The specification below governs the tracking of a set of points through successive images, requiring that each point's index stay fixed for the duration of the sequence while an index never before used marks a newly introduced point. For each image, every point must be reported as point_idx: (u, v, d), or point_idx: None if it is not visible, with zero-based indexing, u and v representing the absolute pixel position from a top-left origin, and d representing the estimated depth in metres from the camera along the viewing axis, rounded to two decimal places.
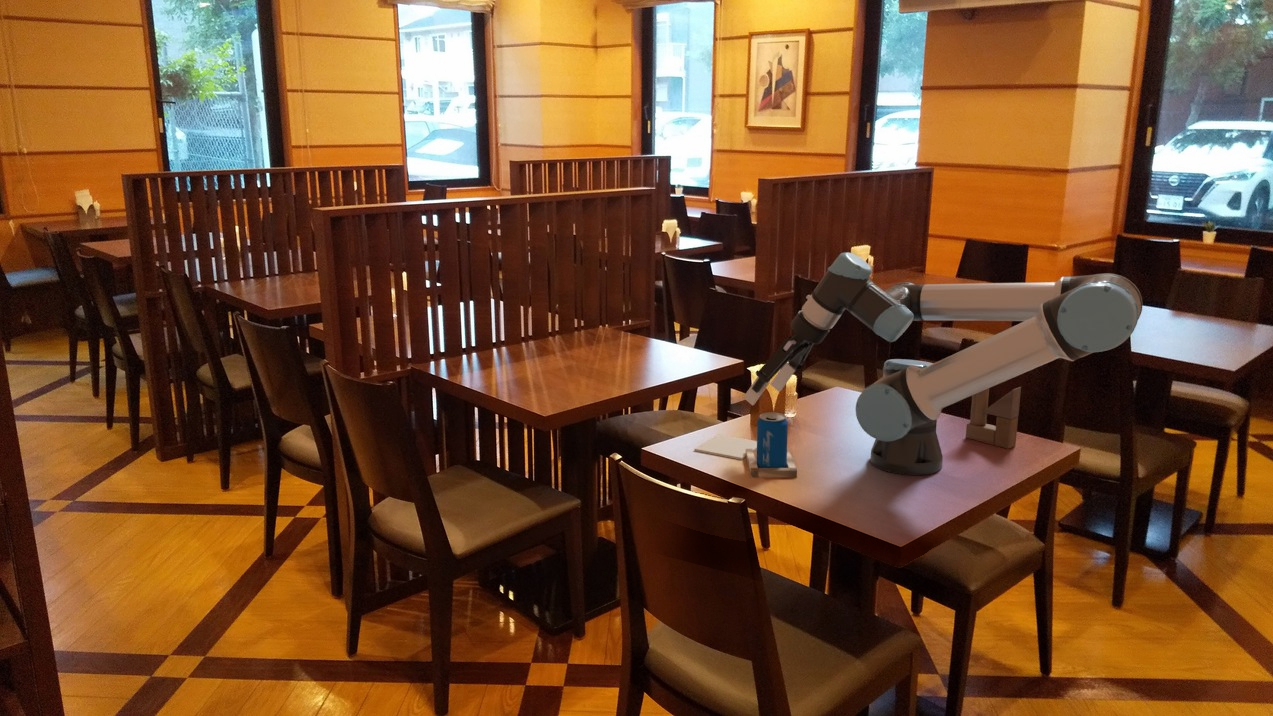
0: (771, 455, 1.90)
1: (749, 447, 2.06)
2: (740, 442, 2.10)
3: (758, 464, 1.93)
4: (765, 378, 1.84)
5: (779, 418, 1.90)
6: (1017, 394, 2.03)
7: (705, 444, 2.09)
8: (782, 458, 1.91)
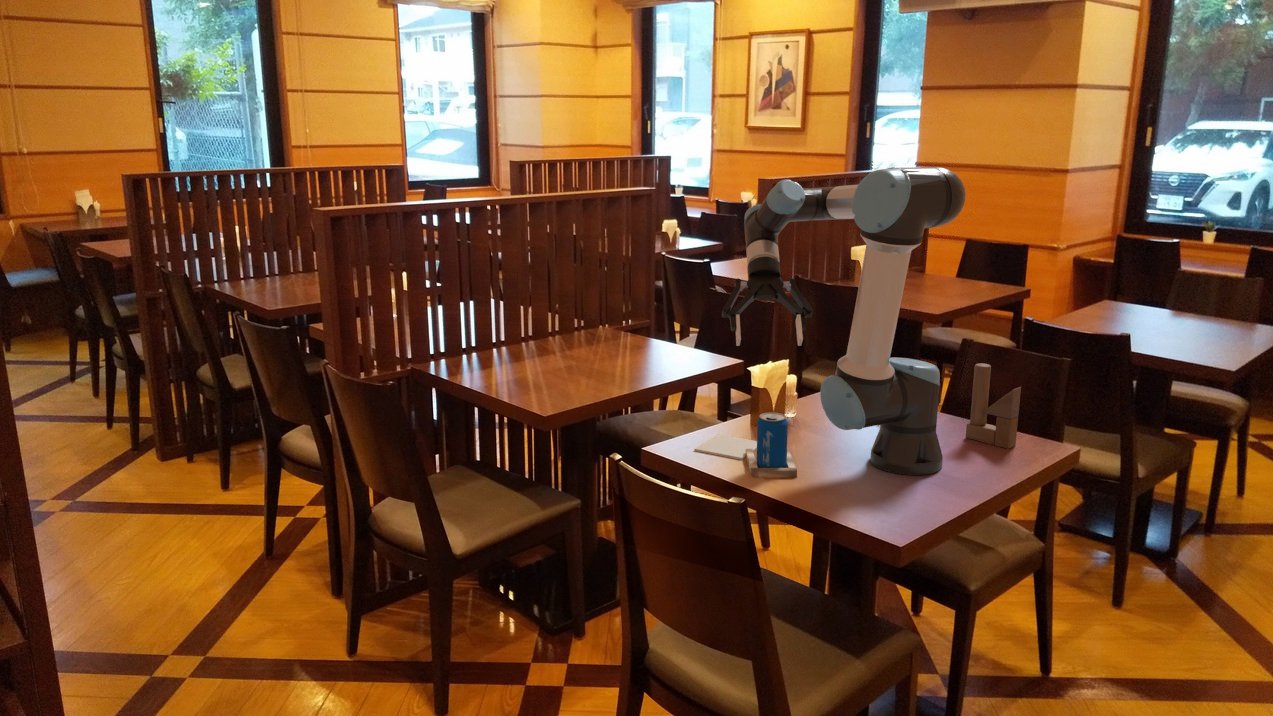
0: (771, 455, 1.90)
1: (749, 447, 2.06)
2: (740, 442, 2.10)
3: (758, 464, 1.93)
4: None
5: (779, 418, 1.90)
6: (1017, 394, 2.03)
7: (705, 444, 2.09)
8: (782, 458, 1.91)
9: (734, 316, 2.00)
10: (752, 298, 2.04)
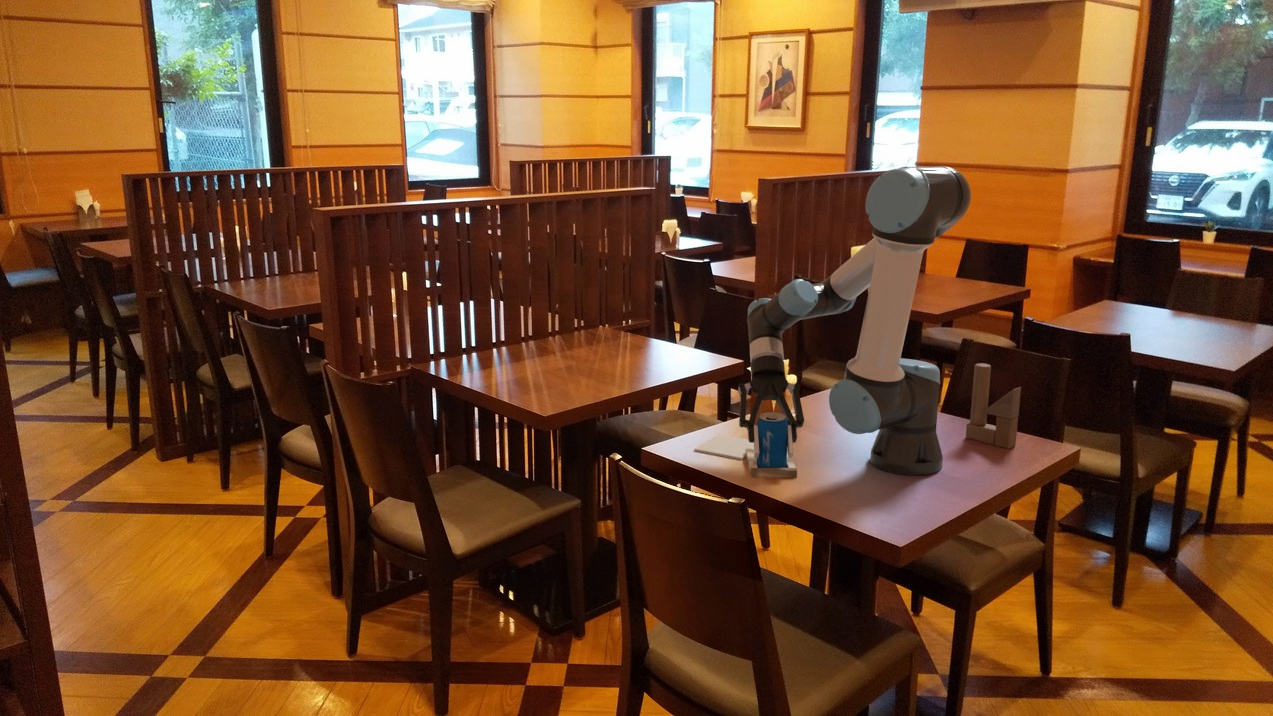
0: (771, 455, 1.90)
1: (749, 447, 2.06)
2: (740, 442, 2.10)
3: (758, 464, 1.93)
4: (740, 419, 1.93)
5: (779, 418, 1.90)
6: (1017, 394, 2.03)
7: (705, 444, 2.09)
8: (782, 458, 1.91)
9: (752, 427, 1.92)
10: (761, 401, 1.96)
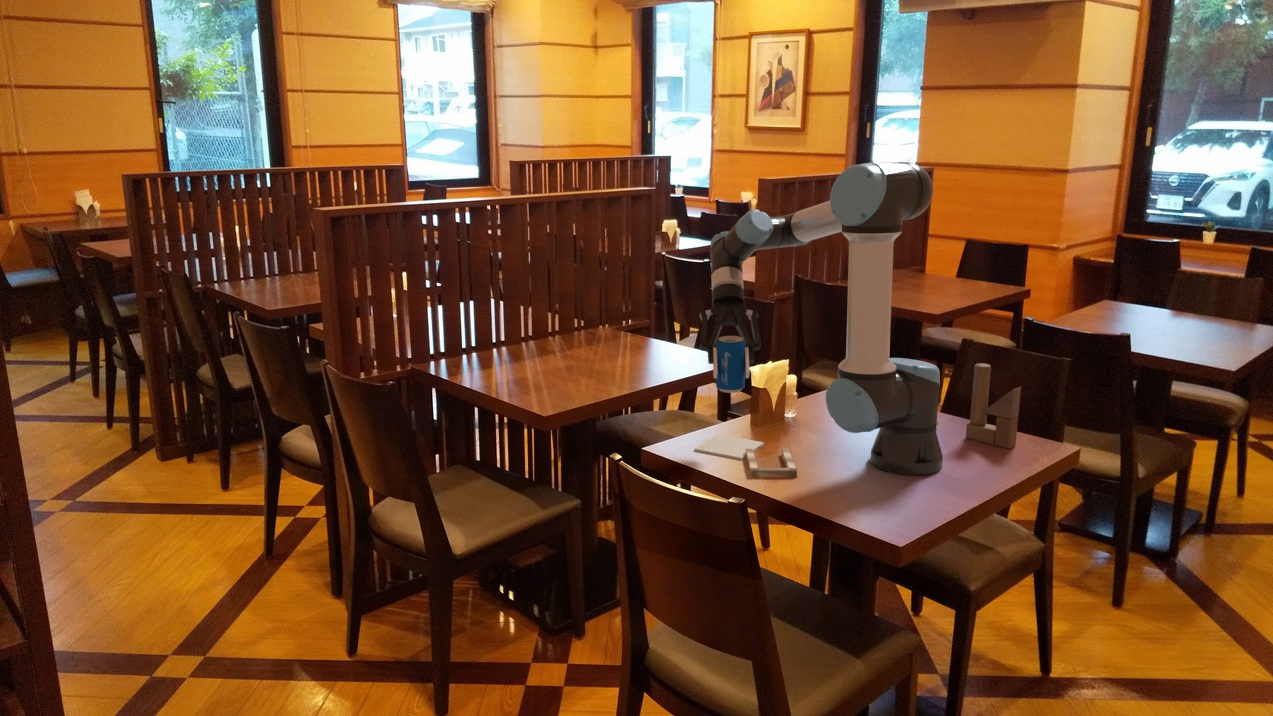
0: (729, 375, 2.00)
1: (749, 447, 2.06)
2: (740, 442, 2.10)
3: (717, 384, 2.03)
4: None
5: (737, 340, 2.01)
6: (1017, 394, 2.03)
7: (705, 444, 2.09)
8: (739, 378, 2.01)
9: (711, 349, 2.03)
10: (721, 326, 2.07)
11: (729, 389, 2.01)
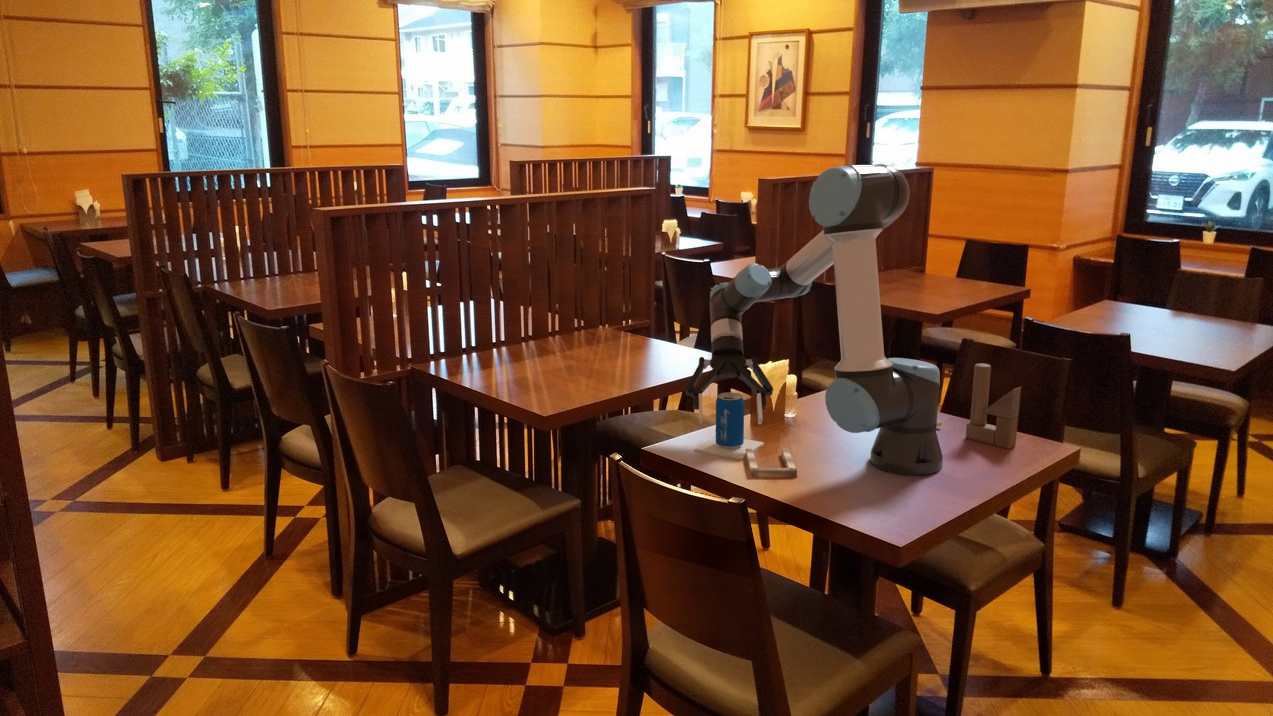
0: (728, 432, 2.04)
1: (749, 447, 2.06)
2: None
3: (717, 440, 2.06)
4: None
5: (736, 397, 2.04)
6: (1017, 394, 2.03)
7: (705, 444, 2.09)
8: (738, 435, 2.04)
9: (697, 395, 2.07)
10: (715, 376, 2.10)
11: (728, 446, 2.04)
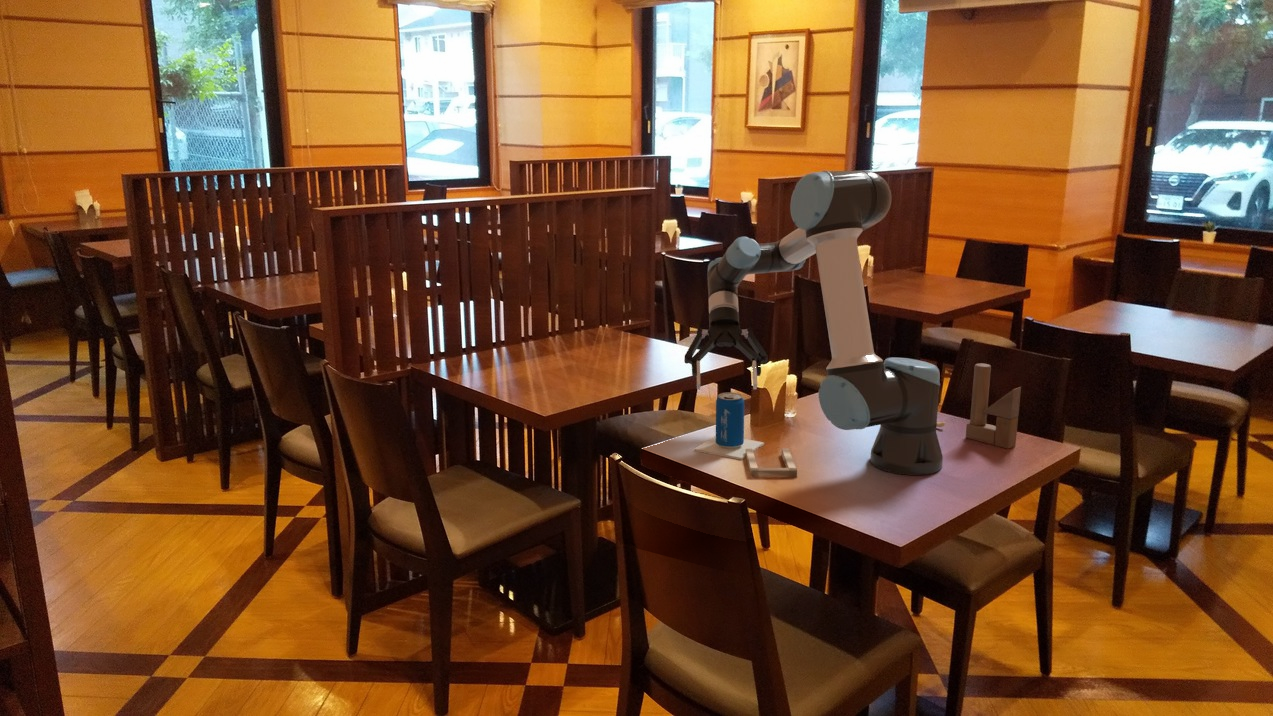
0: (728, 432, 2.04)
1: (749, 447, 2.06)
2: None
3: (717, 440, 2.06)
4: None
5: (736, 397, 2.04)
6: (1017, 394, 2.03)
7: (705, 444, 2.09)
8: (738, 435, 2.04)
9: (695, 362, 2.18)
10: (712, 345, 2.22)
11: (728, 446, 2.04)
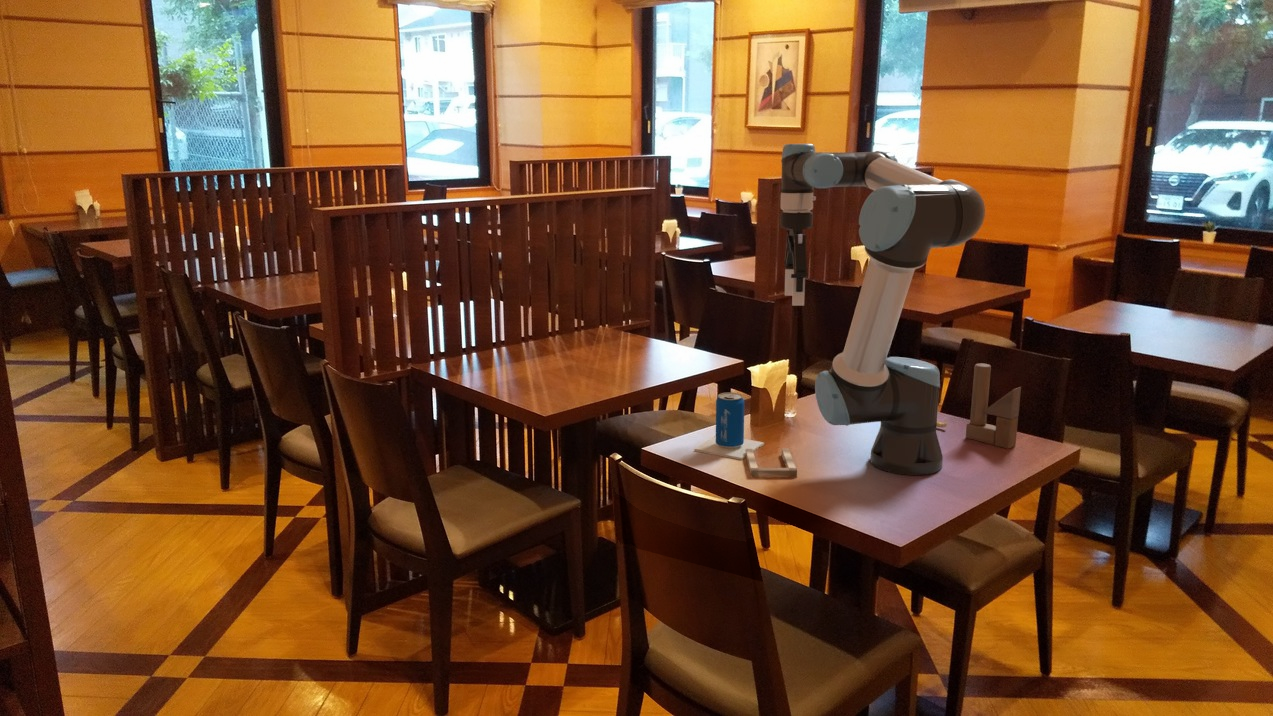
0: (729, 432, 2.04)
1: (749, 447, 2.06)
2: None
3: (717, 440, 2.06)
4: None
5: (736, 397, 2.04)
6: (1017, 394, 2.03)
7: (705, 444, 2.09)
8: (738, 435, 2.04)
9: None
10: None
11: (728, 446, 2.04)
